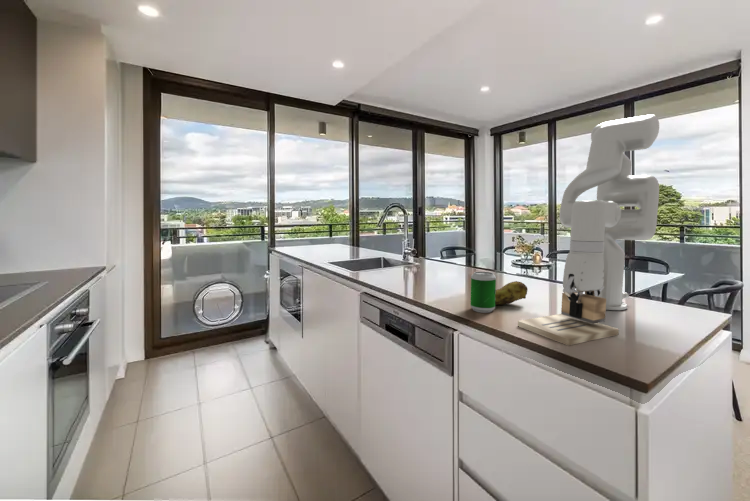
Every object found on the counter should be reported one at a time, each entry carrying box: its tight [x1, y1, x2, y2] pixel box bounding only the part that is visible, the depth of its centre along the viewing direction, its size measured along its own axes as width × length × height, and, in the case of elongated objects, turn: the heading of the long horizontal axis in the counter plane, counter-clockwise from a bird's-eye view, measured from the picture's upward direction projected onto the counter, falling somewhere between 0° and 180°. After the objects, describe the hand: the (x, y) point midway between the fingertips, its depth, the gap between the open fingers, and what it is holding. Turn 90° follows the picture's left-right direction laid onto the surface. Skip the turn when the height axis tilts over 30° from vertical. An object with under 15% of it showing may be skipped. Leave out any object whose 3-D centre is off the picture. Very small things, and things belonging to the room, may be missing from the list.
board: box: [517, 313, 620, 346], centre depth 88 cm, size 18×15×2 cm
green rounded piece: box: [495, 280, 528, 306], centre depth 113 cm, size 8×13×8 cm, turn 76°
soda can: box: [470, 271, 497, 314], centre depth 107 cm, size 8×8×12 cm
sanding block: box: [560, 292, 607, 323], centre depth 89 cm, size 4×9×6 cm, turn 23°
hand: (582, 315), depth 90 cm, fingers closed on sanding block, 4 cm apart
